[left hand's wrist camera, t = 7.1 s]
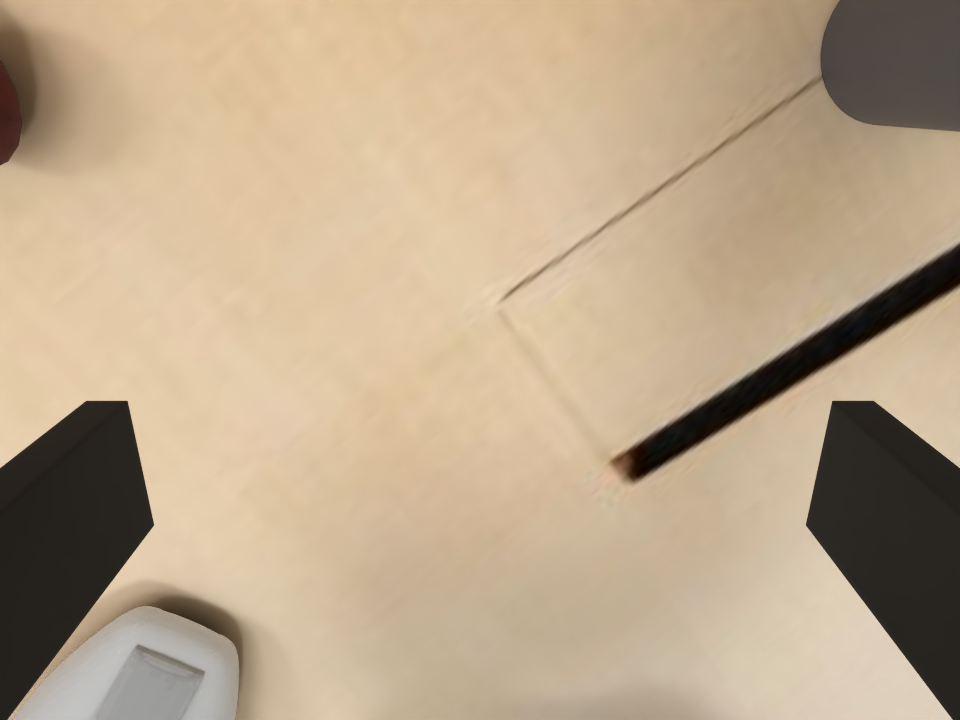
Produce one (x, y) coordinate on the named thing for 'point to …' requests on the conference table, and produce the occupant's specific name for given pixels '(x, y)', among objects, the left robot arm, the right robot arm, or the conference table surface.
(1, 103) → the dark maroon ball
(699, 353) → the conference table surface
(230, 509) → the conference table surface
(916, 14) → the jar
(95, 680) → the projector
